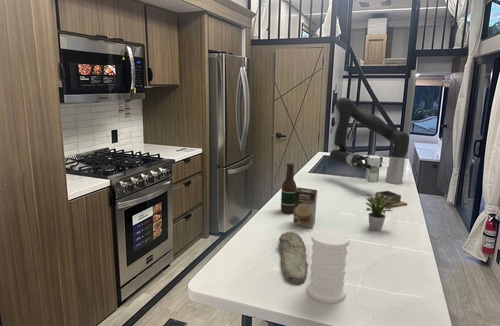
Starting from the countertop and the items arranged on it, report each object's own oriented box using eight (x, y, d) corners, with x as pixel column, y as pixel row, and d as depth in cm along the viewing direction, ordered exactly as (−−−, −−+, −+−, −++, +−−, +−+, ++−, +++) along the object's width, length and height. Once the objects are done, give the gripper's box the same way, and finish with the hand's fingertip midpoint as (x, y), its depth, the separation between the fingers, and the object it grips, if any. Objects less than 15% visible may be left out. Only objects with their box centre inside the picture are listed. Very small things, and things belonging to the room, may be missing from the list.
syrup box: (375, 179, 205) (378, 155, 202) (378, 182, 199) (380, 157, 196) (365, 179, 206) (367, 154, 202) (367, 182, 200) (369, 157, 196)
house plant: (374, 238, 146) (378, 200, 143) (350, 226, 158) (354, 191, 155) (398, 232, 153) (403, 196, 149) (374, 221, 165) (377, 187, 161)
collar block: (367, 201, 195) (368, 191, 194) (387, 198, 200) (388, 188, 199) (386, 209, 182) (388, 199, 181) (407, 206, 188) (408, 196, 187)
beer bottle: (298, 210, 177) (300, 163, 171) (293, 215, 170) (295, 166, 164) (283, 207, 180) (285, 161, 174) (277, 212, 173) (279, 164, 168)
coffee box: (292, 225, 157) (294, 191, 154) (295, 220, 163) (297, 187, 160) (313, 228, 154) (315, 193, 151) (315, 223, 160) (317, 189, 157)
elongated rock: (279, 288, 112) (310, 291, 112) (280, 273, 111) (313, 276, 110) (277, 236, 146) (302, 238, 145) (278, 224, 144) (303, 226, 144)
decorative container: (316, 277, 116) (320, 225, 112) (351, 289, 109) (356, 235, 105) (300, 293, 106) (303, 237, 103) (336, 308, 100) (341, 249, 96)
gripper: (346, 155, 209) (366, 160, 195) (365, 153, 215) (386, 158, 201) (345, 167, 211) (365, 174, 196) (364, 165, 217) (384, 171, 202)
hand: (375, 166), depth 198 cm, fingers closed on syrup box, 7 cm apart
